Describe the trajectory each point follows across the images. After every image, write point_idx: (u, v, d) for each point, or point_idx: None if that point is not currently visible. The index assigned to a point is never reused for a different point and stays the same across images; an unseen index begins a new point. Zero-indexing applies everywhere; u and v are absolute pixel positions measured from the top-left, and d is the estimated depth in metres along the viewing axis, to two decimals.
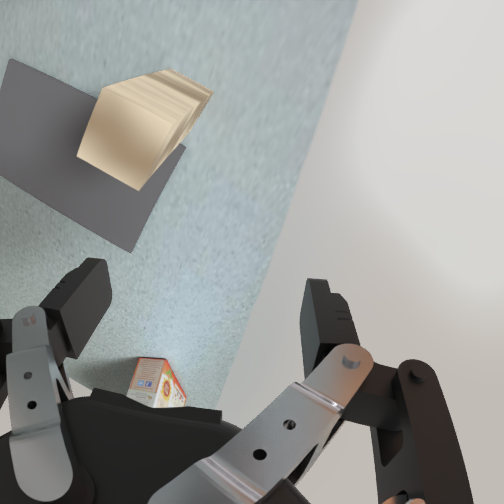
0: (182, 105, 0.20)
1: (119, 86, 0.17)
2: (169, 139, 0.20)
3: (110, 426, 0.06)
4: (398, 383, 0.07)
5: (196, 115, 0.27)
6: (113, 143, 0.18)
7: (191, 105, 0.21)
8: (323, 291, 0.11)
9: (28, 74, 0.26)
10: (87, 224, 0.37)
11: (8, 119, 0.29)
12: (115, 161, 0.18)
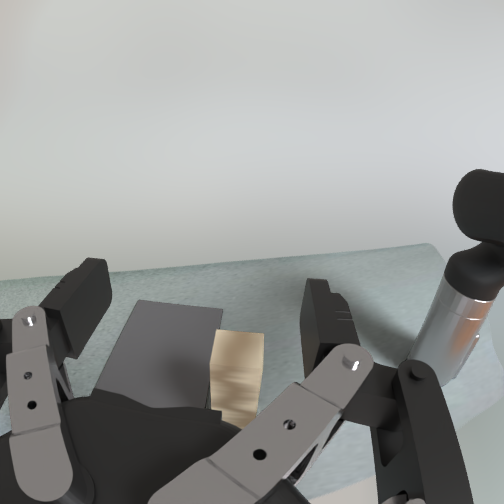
0: None
1: None
2: (242, 381, 0.30)
3: (110, 426, 0.06)
4: (398, 383, 0.07)
5: (236, 425, 0.34)
6: (234, 345, 0.32)
7: None
8: (323, 291, 0.11)
9: (215, 323, 0.54)
10: (104, 375, 0.41)
11: (179, 314, 0.56)
12: (223, 348, 0.31)
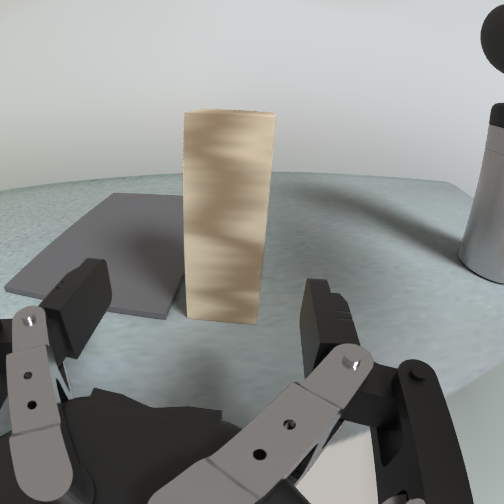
0: None
1: None
2: (240, 152, 0.17)
3: (110, 426, 0.06)
4: (398, 383, 0.07)
5: (228, 286, 0.21)
6: (227, 111, 0.19)
7: (267, 210, 0.19)
8: (323, 291, 0.11)
9: None
10: (46, 251, 0.28)
11: (160, 201, 0.43)
12: (210, 111, 0.18)
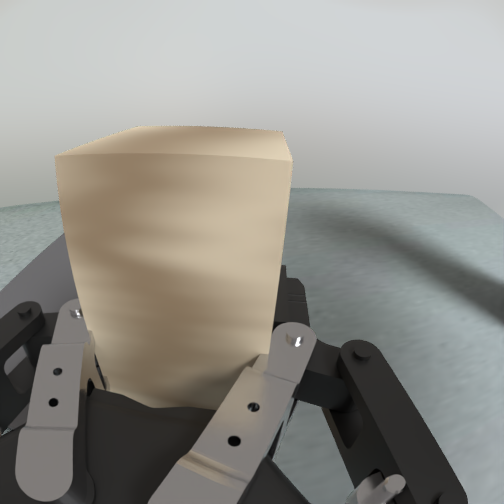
0: None
1: None
2: (195, 256, 0.07)
3: (110, 426, 0.06)
4: (344, 366, 0.08)
5: None
6: (177, 134, 0.08)
7: None
8: None
9: None
10: None
11: None
12: (134, 137, 0.08)
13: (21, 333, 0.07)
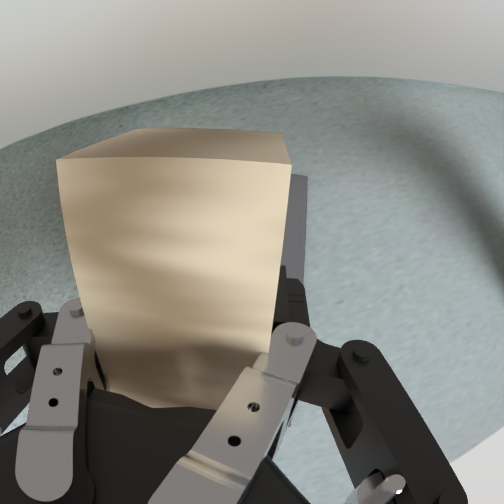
0: None
1: None
2: (195, 258, 0.07)
3: (110, 426, 0.06)
4: (344, 366, 0.08)
5: None
6: (177, 136, 0.08)
7: None
8: (279, 275, 0.12)
9: (299, 209, 0.34)
10: None
11: None
12: (135, 140, 0.08)
13: (21, 333, 0.07)
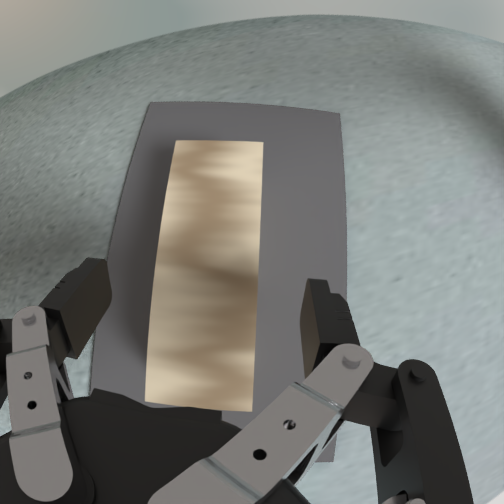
0: None
1: None
2: (228, 172, 0.17)
3: (110, 426, 0.06)
4: (398, 383, 0.07)
5: (209, 344, 0.14)
6: None
7: (259, 234, 0.16)
8: (323, 291, 0.11)
9: (333, 152, 0.23)
10: (104, 335, 0.19)
11: (247, 129, 0.24)
12: None
13: None
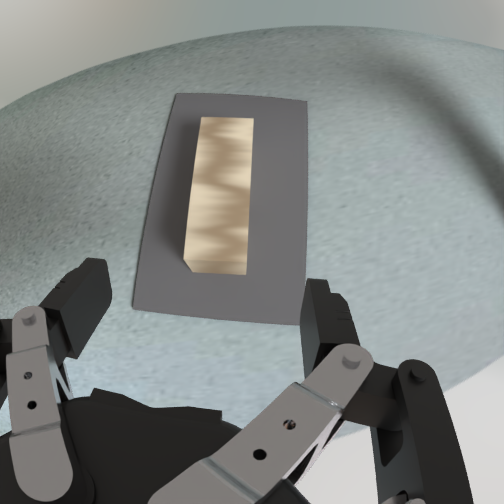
0: None
1: None
2: (233, 135, 0.29)
3: (110, 426, 0.06)
4: (398, 383, 0.07)
5: (222, 224, 0.26)
6: None
7: None
8: (323, 291, 0.11)
9: (301, 126, 0.35)
10: (148, 240, 0.31)
11: (244, 112, 0.35)
12: None
13: None
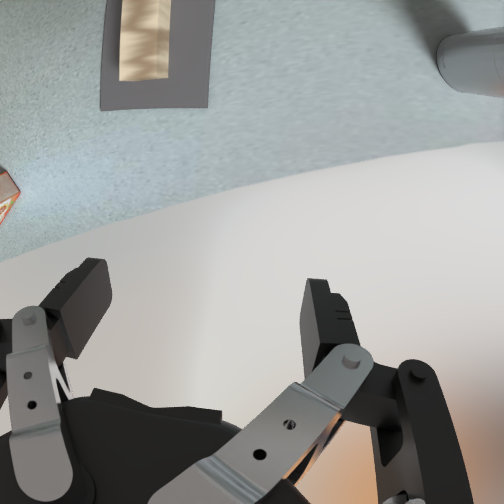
0: (160, 6, 0.30)
1: None
2: None
3: (110, 426, 0.06)
4: (398, 383, 0.07)
5: (140, 55, 0.32)
6: None
7: (158, 13, 0.30)
8: (323, 291, 0.11)
9: None
10: (105, 66, 0.37)
11: None
12: None
13: None
